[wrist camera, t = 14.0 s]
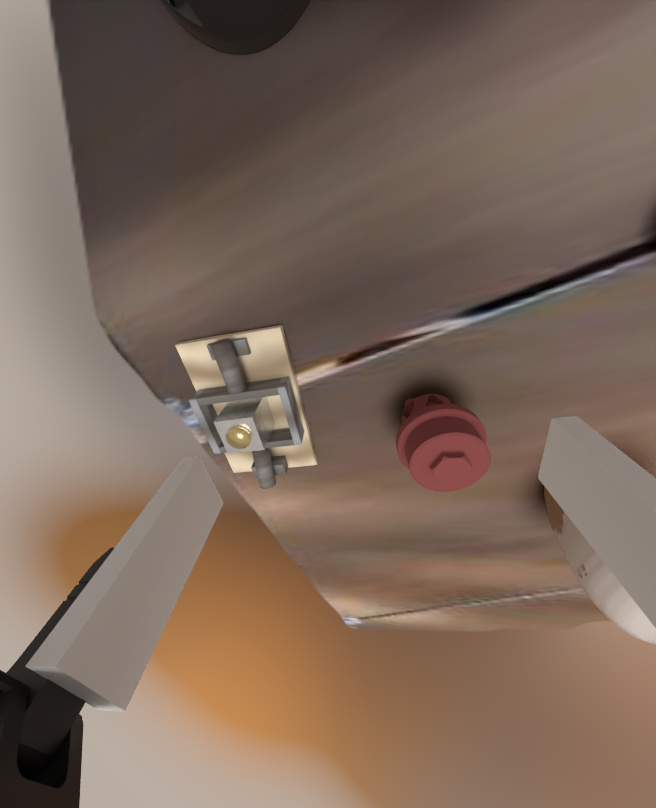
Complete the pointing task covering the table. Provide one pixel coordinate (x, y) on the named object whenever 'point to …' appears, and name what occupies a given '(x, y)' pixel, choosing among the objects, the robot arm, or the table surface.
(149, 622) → the robot arm
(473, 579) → the table surface
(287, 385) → the shaft bench
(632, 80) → the table surface
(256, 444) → the block
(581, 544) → the vase
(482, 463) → the mechanical component
